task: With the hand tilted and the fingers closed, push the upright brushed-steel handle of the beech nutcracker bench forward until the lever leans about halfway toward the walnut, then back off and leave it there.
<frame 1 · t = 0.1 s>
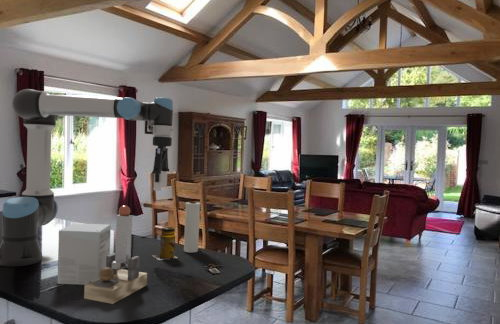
hand: (160, 188, 173), 28 cm above the worktop, tool pointing down, fingers open, 13 cm apart
lever: (122, 236, 133), point 17 cm above the worktop, hinge at 0.0°
paper towel roll: (192, 251, 186), on the worktop
supplement box: (84, 279, 144), on the worktop
nutcracker bench: (117, 291, 133), on the worktop
condiment: (164, 257, 174), on the worktop
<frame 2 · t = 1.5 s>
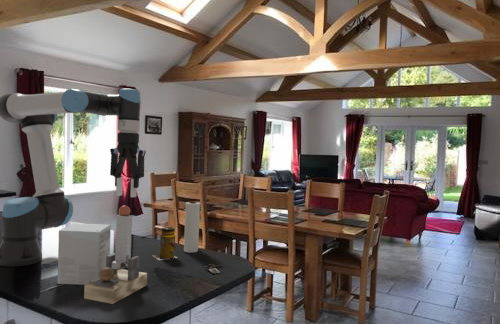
hand: (126, 196, 155), 27 cm above the worktop, tool pointing down, fingers open, 5 cm apart
nothing on the worktop moved.
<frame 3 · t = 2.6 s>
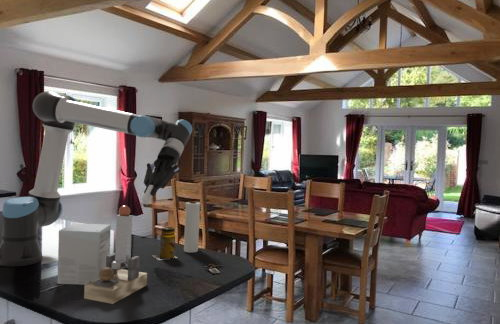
hand: (145, 201, 145), 26 cm above the worktop, tool tilted 45°, fingers closed
nothing on the worktop moved.
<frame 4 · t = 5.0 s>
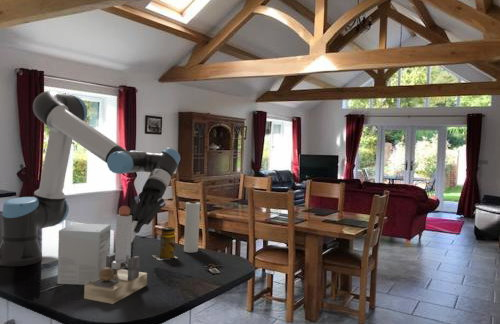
hand: (128, 239, 137), 15 cm above the worktop, tool tilted 45°, fingers closed
lever: (122, 236, 133), point 17 cm above the worktop, hinge at 0.0°, touching gripper
everything else where it was.
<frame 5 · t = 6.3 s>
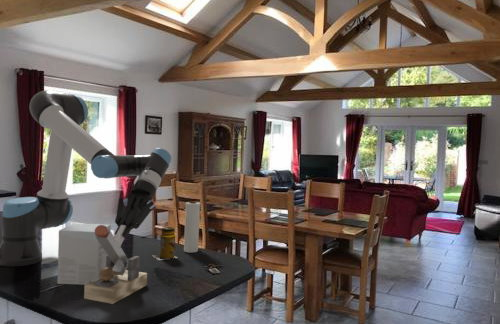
hand: (115, 245, 130), 15 cm above the worktop, tool tilted 45°, fingers closed
lever: (110, 249, 128), point 14 cm above the worktop, hinge at 42.0°, touching gripper
everything else where it was.
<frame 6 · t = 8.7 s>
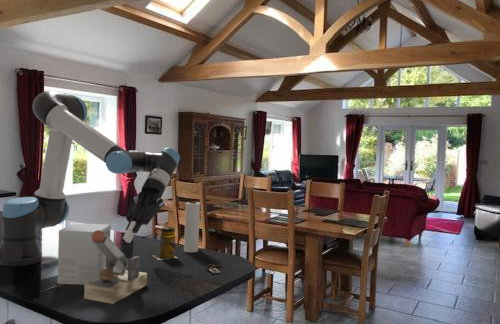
hand: (126, 240, 136), 15 cm above the worktop, tool tilted 45°, fingers closed
lever: (109, 252, 128), point 13 cm above the worktop, hinge at 48.3°
everything else where it was.
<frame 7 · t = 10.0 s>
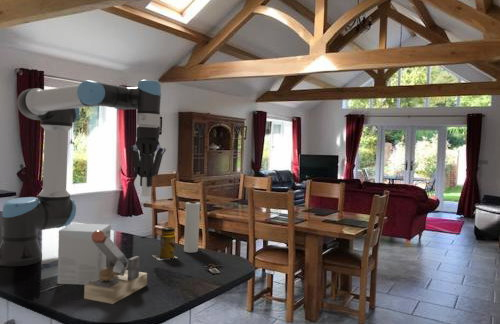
hand: (145, 196, 145), 28 cm above the worktop, tool pointing down, fingers closed
nothing on the worktop moved.
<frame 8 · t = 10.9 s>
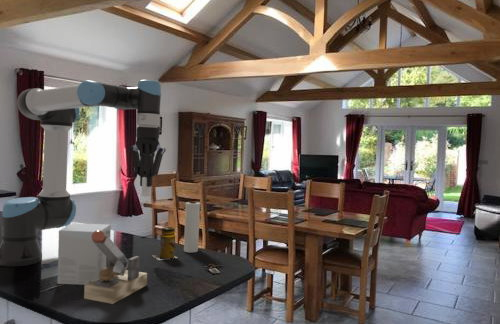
hand: (145, 196, 145), 28 cm above the worktop, tool pointing down, fingers closed
nothing on the worktop moved.
at the end: lever at +48° (first picture: +0°) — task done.
